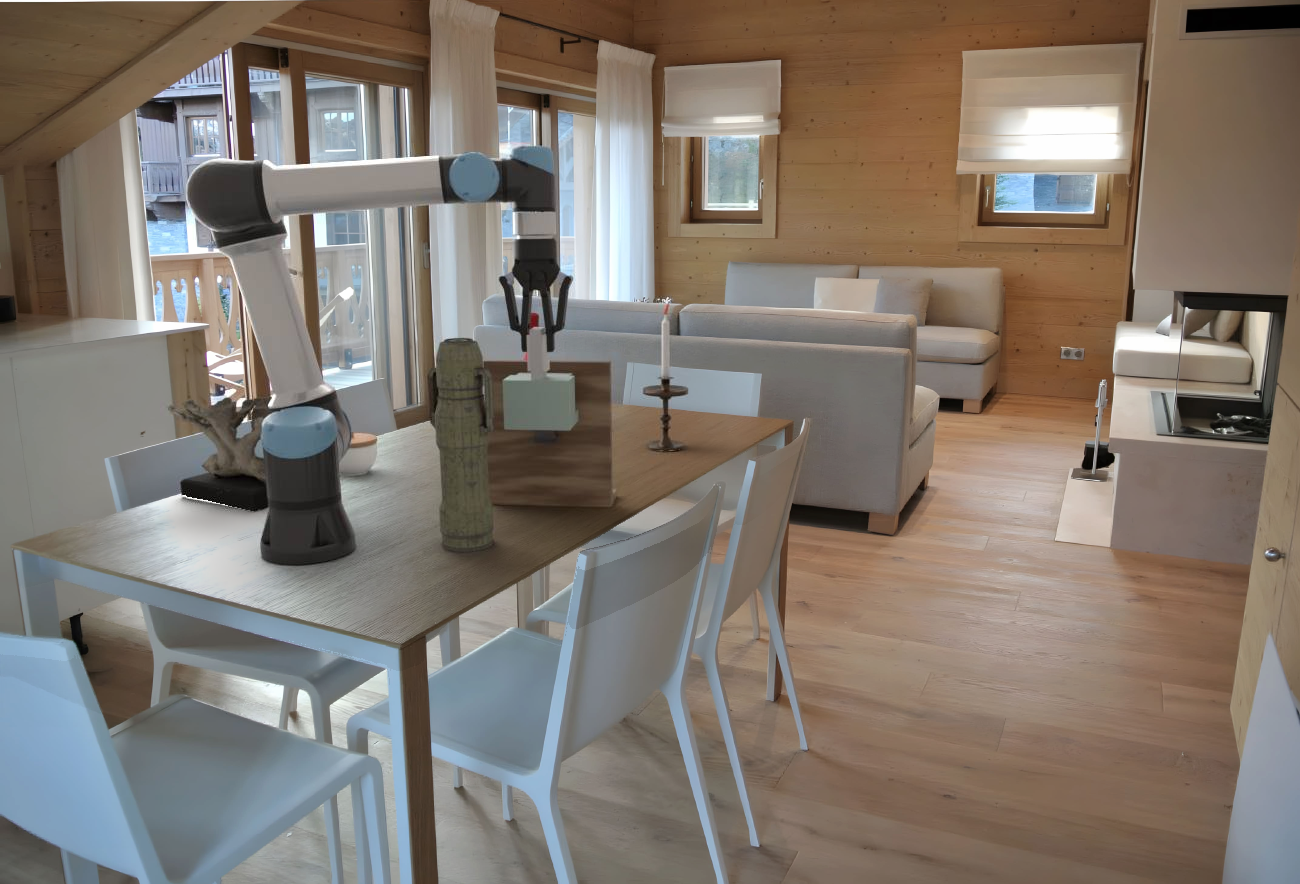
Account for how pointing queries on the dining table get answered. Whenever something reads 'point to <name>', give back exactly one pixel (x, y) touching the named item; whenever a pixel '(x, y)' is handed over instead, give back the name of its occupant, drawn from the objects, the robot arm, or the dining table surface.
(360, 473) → the lidded jar
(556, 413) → the pale green block
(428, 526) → the dining table surface
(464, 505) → the thermos
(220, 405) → the coral
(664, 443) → the candlestick
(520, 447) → the wall board
